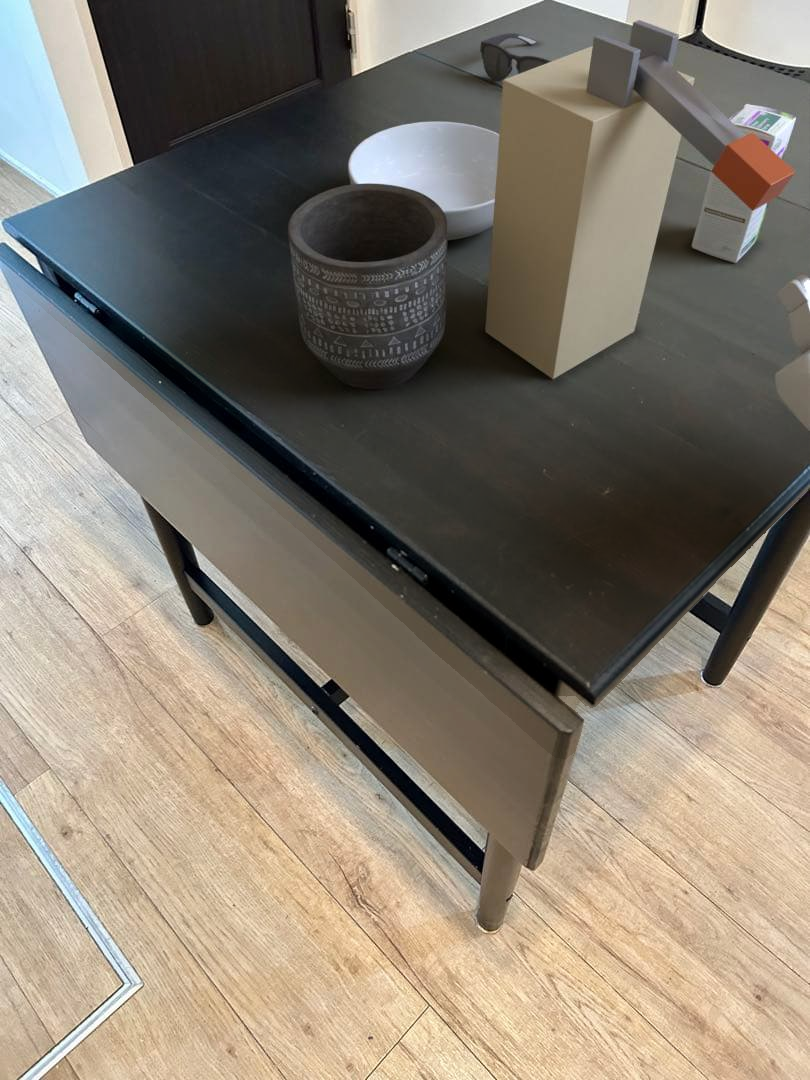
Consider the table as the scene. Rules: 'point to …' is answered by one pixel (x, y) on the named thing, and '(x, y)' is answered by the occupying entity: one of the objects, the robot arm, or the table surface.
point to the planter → (370, 281)
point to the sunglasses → (506, 57)
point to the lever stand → (578, 201)
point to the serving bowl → (436, 169)
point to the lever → (713, 134)
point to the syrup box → (723, 214)
